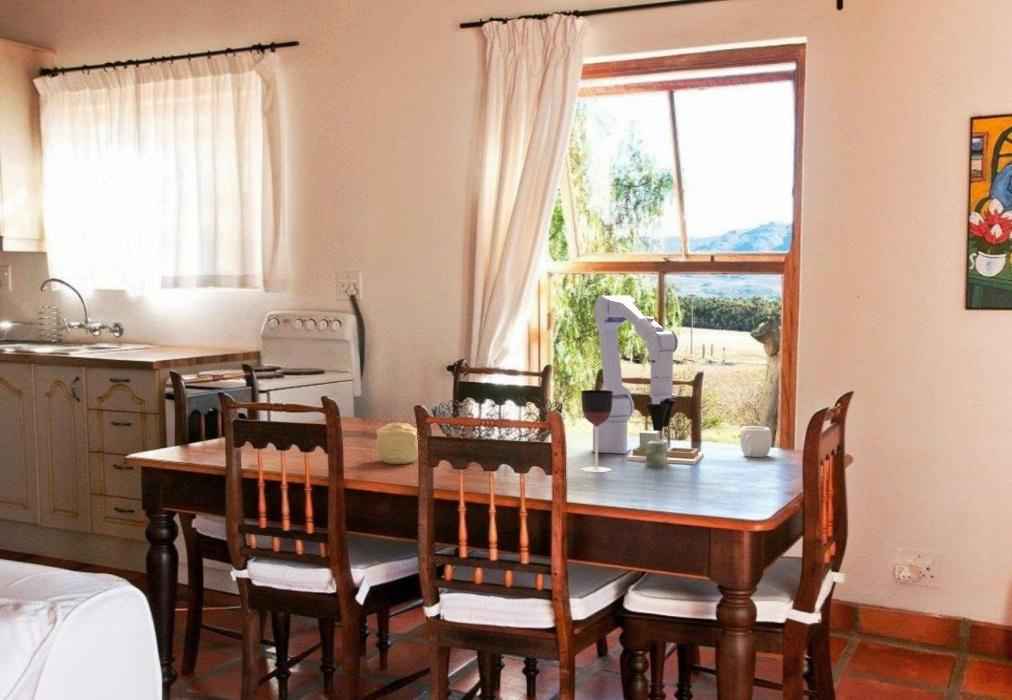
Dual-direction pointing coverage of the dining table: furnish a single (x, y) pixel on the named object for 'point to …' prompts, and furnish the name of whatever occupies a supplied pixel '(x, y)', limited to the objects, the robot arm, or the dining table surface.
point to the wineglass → (596, 416)
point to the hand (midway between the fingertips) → (661, 428)
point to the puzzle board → (672, 453)
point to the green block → (656, 453)
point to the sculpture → (397, 443)
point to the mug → (755, 441)
